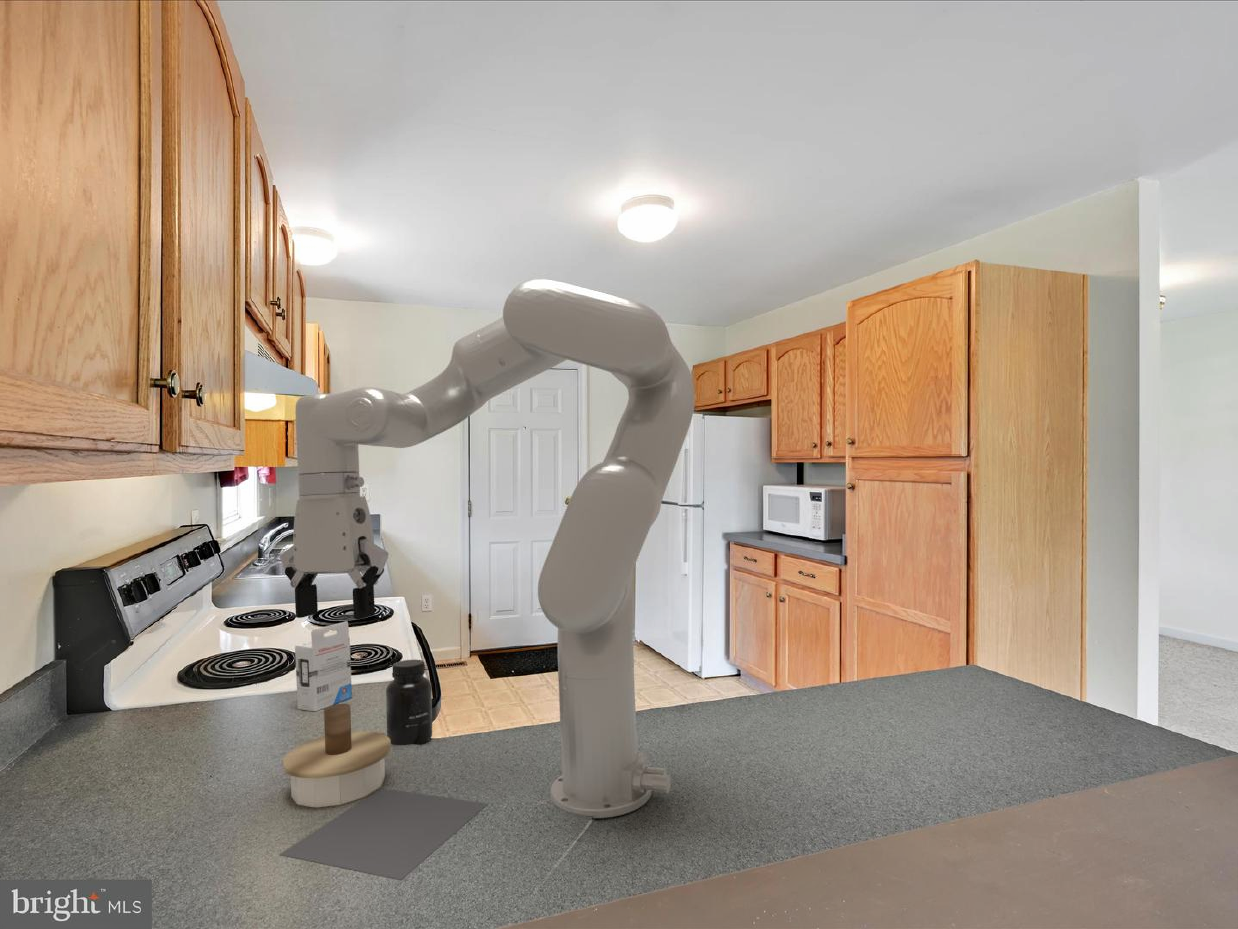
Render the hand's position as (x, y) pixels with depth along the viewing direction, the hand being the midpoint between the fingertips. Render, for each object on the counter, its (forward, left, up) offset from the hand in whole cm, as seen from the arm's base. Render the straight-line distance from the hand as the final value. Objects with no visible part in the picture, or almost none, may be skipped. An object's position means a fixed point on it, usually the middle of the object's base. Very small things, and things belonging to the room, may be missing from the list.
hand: (335, 616), depth 88 cm
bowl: (0, 0, -23) cm, 23 cm away
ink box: (+30, -28, -23) cm, 47 cm away
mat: (-14, +7, -23) cm, 28 cm away
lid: (0, 0, -18) cm, 18 cm away
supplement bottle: (+2, -17, -23) cm, 29 cm away
